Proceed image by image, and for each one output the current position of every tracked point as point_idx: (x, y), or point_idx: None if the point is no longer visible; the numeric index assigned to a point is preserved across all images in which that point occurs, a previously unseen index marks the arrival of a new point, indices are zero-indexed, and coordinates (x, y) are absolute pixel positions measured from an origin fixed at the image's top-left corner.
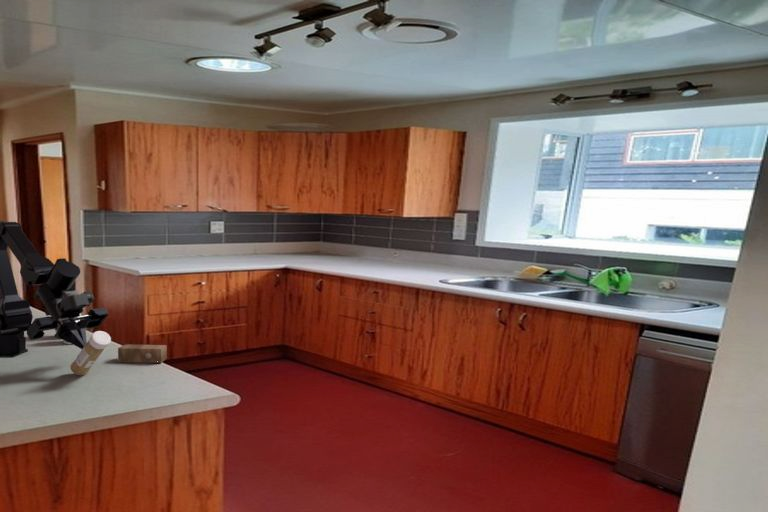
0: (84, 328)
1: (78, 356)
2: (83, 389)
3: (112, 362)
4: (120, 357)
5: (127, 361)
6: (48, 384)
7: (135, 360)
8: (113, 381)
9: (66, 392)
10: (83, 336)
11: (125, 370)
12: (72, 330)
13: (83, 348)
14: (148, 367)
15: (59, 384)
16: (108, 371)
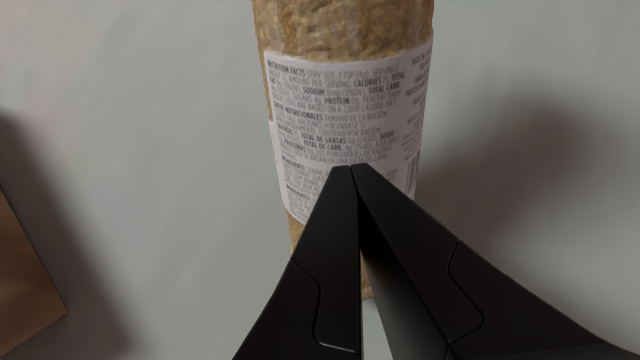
0: (259, 358)
1: (418, 156)
2: (444, 16)
3: (95, 331)
4: (37, 306)
5: (36, 262)
6: (536, 211)
7: (6, 216)
8: None
9: (518, 34)
10: (337, 239)
11: (146, 130)
12: (543, 337)
13: (427, 57)
14: (37, 86)
15: (495, 169)
16: (214, 182)
